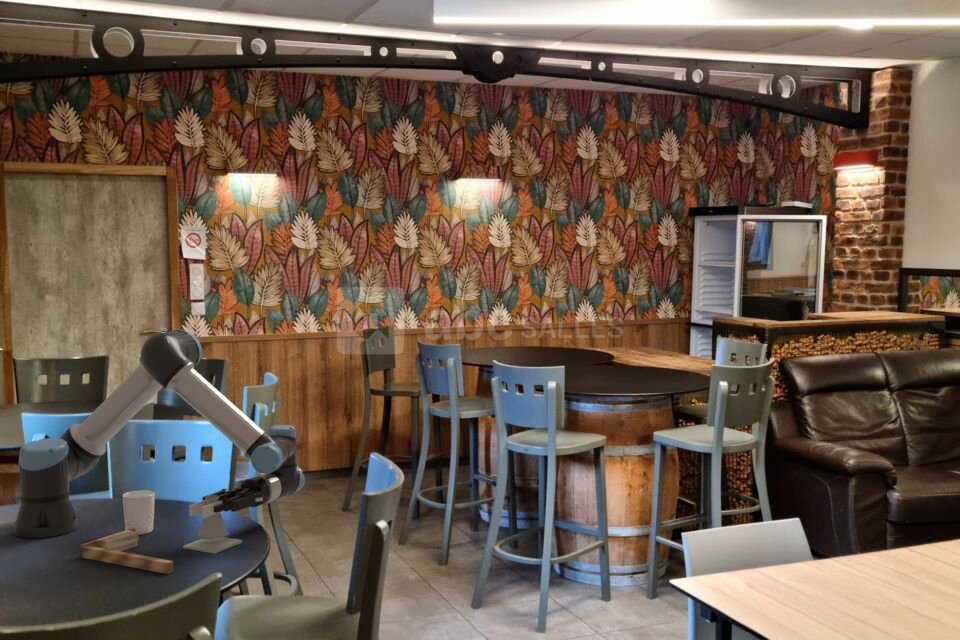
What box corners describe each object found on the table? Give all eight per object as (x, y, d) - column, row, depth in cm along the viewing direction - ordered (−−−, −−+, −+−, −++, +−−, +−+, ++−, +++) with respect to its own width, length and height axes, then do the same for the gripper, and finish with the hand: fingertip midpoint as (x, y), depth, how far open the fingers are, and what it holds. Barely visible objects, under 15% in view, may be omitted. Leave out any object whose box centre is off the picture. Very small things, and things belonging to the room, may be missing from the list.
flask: (210, 542, 222) (209, 501, 222) (191, 537, 227) (191, 497, 226) (234, 535, 228) (233, 495, 228) (216, 530, 232) (215, 491, 232)
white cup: (160, 527, 243) (159, 490, 243) (147, 536, 236) (146, 497, 235) (132, 526, 244) (131, 489, 244) (117, 535, 236) (116, 497, 236)
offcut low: (96, 555, 221) (96, 547, 221) (125, 545, 229) (125, 537, 229) (108, 557, 220) (108, 549, 219) (137, 547, 228) (137, 539, 228)
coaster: (183, 548, 225) (183, 545, 225) (211, 537, 234) (211, 535, 234) (214, 553, 221) (214, 551, 221) (242, 542, 230) (242, 540, 230)
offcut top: (96, 547, 221) (96, 539, 221) (127, 538, 229) (127, 530, 229) (107, 550, 219) (107, 541, 219) (138, 540, 227) (138, 532, 227)
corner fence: (80, 557, 218) (80, 544, 218) (132, 539, 233) (132, 527, 233) (168, 574, 206) (167, 560, 206) (217, 554, 220) (217, 541, 220)
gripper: (284, 507, 240) (222, 530, 219) (236, 500, 247) (171, 522, 226) (284, 479, 239) (222, 499, 218) (235, 473, 246) (171, 492, 225)
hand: (196, 511), depth 222 cm, fingers closed on flask, 3 cm apart
